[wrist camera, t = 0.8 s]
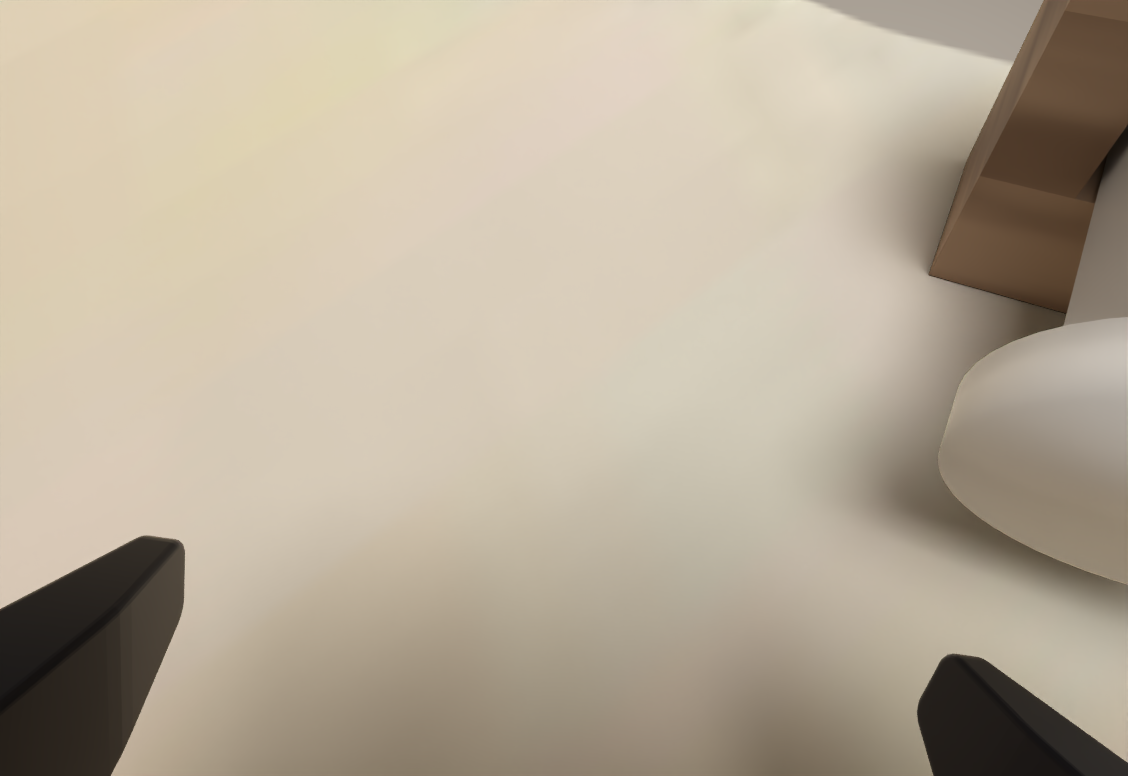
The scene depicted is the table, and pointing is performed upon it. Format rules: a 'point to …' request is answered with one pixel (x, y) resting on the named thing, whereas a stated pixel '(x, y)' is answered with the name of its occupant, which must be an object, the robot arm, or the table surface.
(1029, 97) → the panel
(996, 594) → the table surface
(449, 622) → the table surface
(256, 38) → the table surface
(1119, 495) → the grey plunger
